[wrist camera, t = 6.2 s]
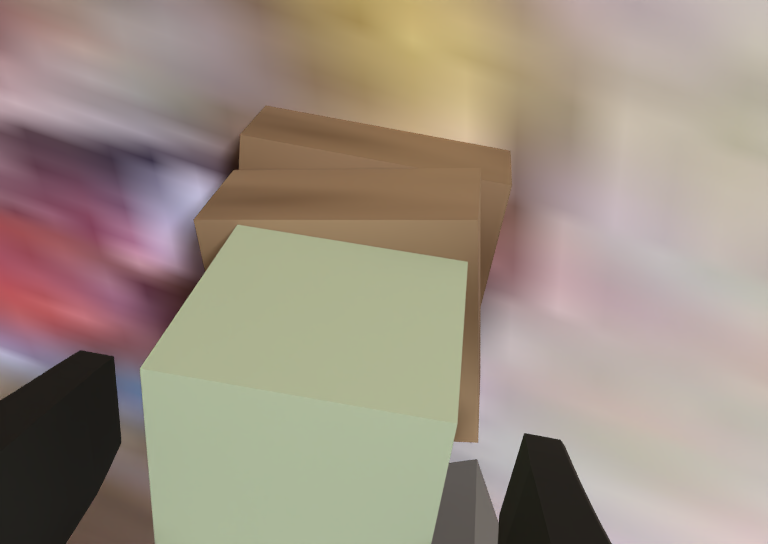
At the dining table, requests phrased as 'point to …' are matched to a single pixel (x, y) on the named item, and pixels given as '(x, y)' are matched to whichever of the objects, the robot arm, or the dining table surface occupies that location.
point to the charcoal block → (465, 508)
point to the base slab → (376, 158)
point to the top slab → (368, 229)
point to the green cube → (306, 395)
